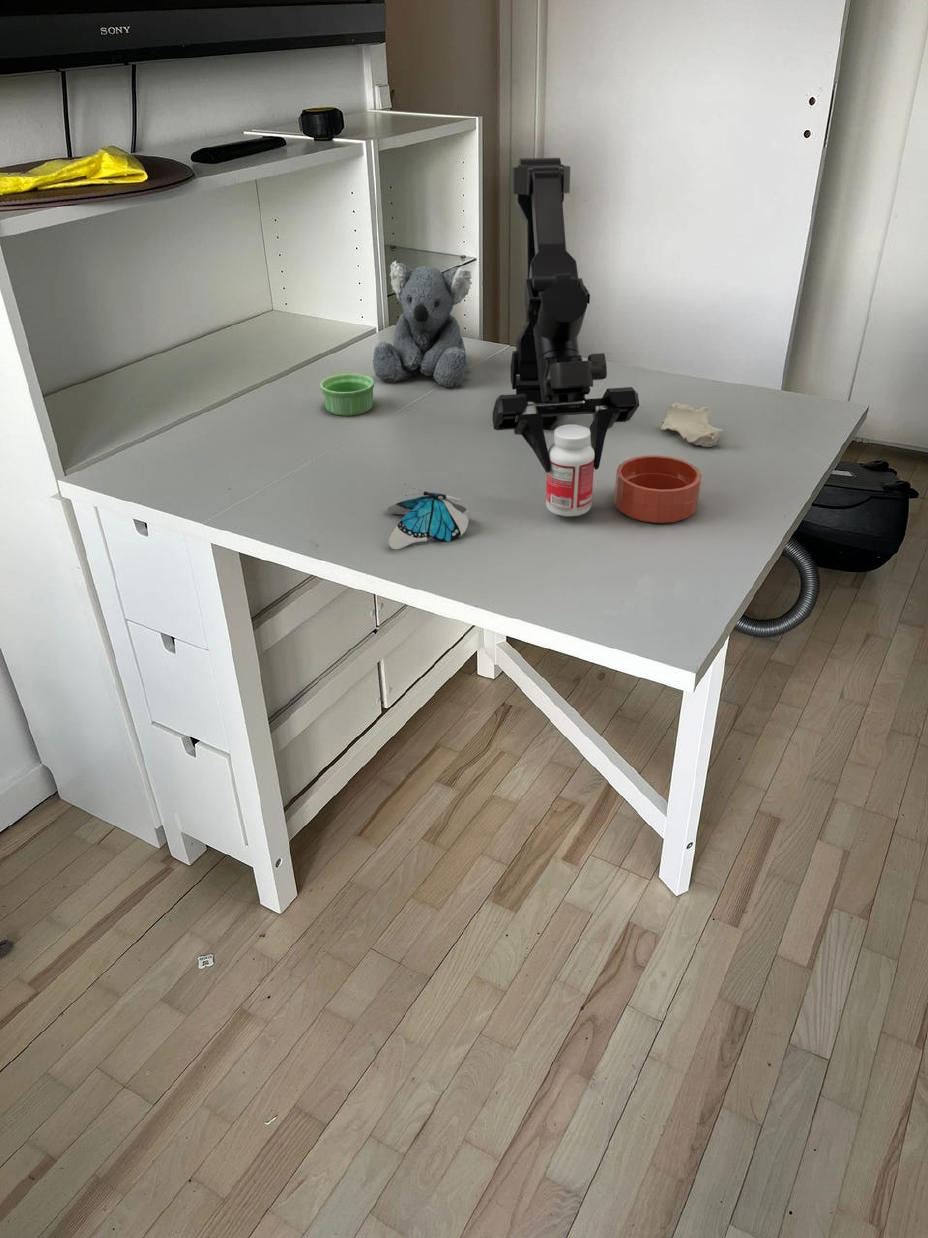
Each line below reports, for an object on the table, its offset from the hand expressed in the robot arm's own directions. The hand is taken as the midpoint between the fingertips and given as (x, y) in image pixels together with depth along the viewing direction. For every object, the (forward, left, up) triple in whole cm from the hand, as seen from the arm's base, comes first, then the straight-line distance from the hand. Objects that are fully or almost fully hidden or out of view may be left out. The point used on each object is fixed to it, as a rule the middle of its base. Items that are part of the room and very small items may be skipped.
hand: (572, 470), depth 125 cm
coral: (+13, +32, -7) cm, 35 cm away
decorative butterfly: (-17, -8, -7) cm, 21 cm away
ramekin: (-44, +29, -7) cm, 54 cm away
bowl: (+11, +7, -7) cm, 15 cm away
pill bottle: (-1, +1, -6) cm, 7 cm away
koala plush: (-37, +50, -7) cm, 63 cm away
